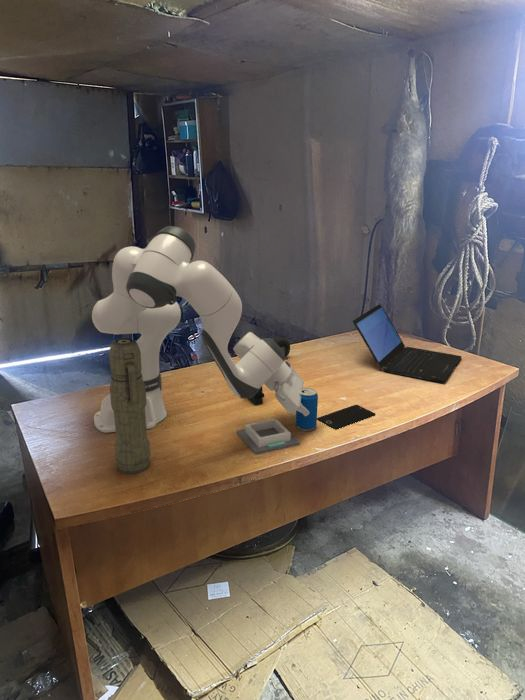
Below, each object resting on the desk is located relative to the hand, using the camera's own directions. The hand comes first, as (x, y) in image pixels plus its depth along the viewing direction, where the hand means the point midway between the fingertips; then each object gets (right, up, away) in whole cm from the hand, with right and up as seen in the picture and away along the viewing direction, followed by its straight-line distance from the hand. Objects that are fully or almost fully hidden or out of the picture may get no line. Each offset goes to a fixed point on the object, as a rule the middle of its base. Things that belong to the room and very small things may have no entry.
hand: (308, 408), depth 163 cm
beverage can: (-1, -6, +2) cm, 7 cm away
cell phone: (+13, -4, +9) cm, 16 cm away
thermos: (-49, -13, -19) cm, 54 cm away
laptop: (+45, +12, +57) cm, 74 cm away
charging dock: (-13, -8, -5) cm, 16 cm away
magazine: (-18, +1, +23) cm, 29 cm away
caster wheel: (-10, +13, +57) cm, 60 cm away
